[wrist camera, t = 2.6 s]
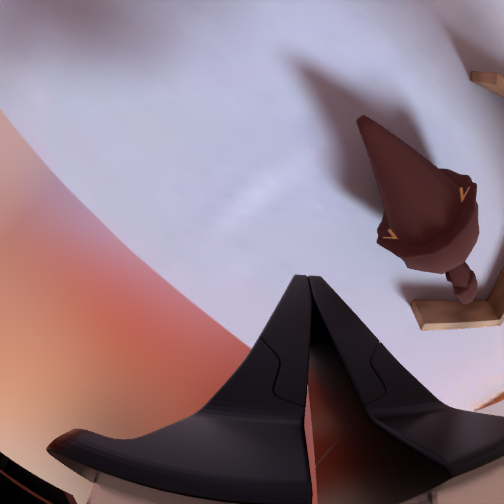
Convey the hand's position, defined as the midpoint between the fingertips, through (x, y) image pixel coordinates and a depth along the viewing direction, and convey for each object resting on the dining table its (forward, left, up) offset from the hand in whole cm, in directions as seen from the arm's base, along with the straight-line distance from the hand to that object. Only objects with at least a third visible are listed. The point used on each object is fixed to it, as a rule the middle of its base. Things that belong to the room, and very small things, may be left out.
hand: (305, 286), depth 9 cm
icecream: (-8, 0, -11) cm, 14 cm away
